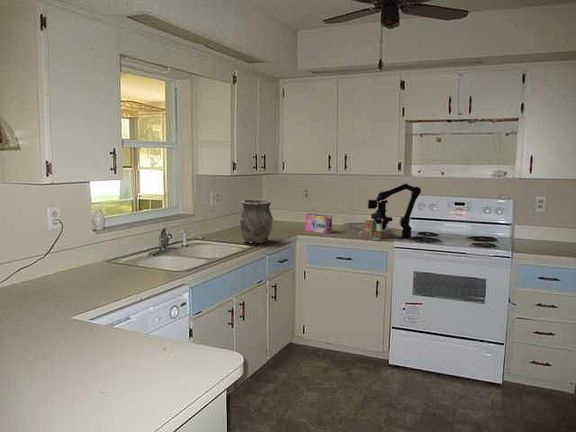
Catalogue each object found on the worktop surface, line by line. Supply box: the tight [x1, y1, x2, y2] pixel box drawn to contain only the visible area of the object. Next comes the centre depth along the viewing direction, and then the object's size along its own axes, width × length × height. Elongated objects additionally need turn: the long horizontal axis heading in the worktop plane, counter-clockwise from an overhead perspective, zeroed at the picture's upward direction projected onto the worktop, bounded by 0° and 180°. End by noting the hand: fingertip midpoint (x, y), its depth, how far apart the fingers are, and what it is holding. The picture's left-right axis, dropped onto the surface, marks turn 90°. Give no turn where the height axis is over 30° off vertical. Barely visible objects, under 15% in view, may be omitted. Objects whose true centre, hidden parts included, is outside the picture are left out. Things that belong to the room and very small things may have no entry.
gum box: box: [304, 213, 333, 235], centre depth 385 cm, size 24×8×14 cm, turn 46°
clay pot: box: [239, 198, 274, 244], centre depth 338 cm, size 22×23×30 cm
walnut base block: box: [373, 231, 390, 239], centre depth 359 cm, size 8×8×4 cm
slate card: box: [369, 237, 384, 242], centre depth 350 cm, size 7×7×1 cm
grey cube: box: [384, 227, 392, 236], centre depth 370 cm, size 5×5×5 cm
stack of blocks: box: [364, 217, 382, 236], centre depth 377 cm, size 21×6×12 cm, turn 146°
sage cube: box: [377, 224, 387, 231], centre depth 358 cm, size 5×5×5 cm
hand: (381, 229), depth 358 cm, fingers closed on sage cube, 5 cm apart
